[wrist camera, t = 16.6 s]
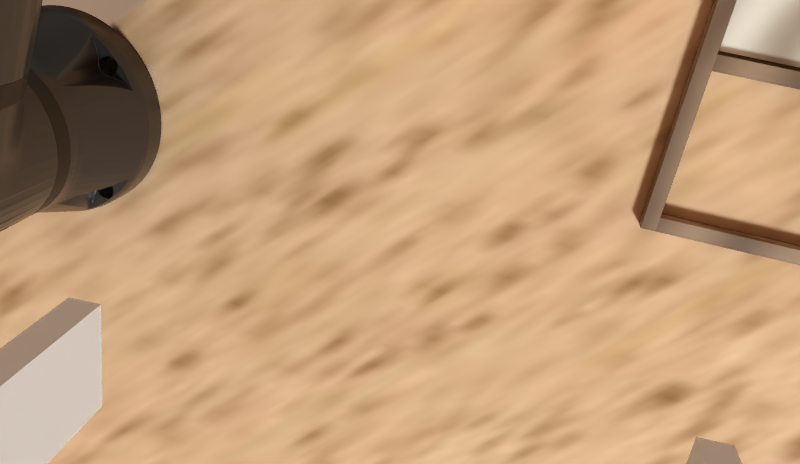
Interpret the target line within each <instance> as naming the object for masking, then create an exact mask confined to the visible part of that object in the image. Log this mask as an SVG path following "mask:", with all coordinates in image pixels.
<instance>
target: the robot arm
mask: <svg viewBox="0 0 800 464" xmlns="http://www.w3.org/2000/svg"><path fill="white" fill-rule="evenodd" d="M41 5H42V0H0V231H2V230H4V229H6V228H8V227H10V226H12V225H14V224H15V223H17V222H19V221H21V220H23V219H25V218H27V217H28V216H31V215H33V214H35V213H37V212H66V211H84V210H89V209H93V208H97V207H100V206H103V205H106V204H108V203H110V202H112V201H113V200H115V199H117V198H119V197H121V196H123V195H124V194H126V193H128V192H129V191H131V190H132V189H133V188H135V187H136V186H137V185H138V184H139V183H140V182H141V181H142V180H143V178H144V177H145V176H146V175H147V173H148V172H149V170H150V168H151V166H152V165H153V162H154V160H155V158H156V155H157V152H158V148H159V144H160V137H161V113H160V106H159V101H158V97H157V93H156V90H155V87H154V85H153V82H152V80H151V77H150V75H149V73H148V71H147V69H146V68H145V66H144V64H143V62H142V61H141V59H140V58H139V56H138V55H137V53H136V52H135V51H134V50H133V48H132V47H131V46H130V45H129V44H128V43H127V41H126V40H125V39H124V38H123V37H122V36H121V35H119V34H118V33H117V32H116V31H115V30H114V29H112V28H111V27H110V26H108V25H107V24H106V23H104V22H103V21H101V20H99V19H98V18H96V17H94V16H92V15H90V14H88V13H85V12H83V11H80V10H77V9H73V8H70V7H64V6H56V5H46V6H41ZM101 406H102V352H101V305H100V304H96V303H91V302H87V301H82V300H78V299H73V298H68V299H66V300H65V301H64V302H62V303H61V304H60V305H58V306H57V307H56V308H54V309H53V310H52V311H50V312H49V313H48V314H46V315H45V316H44V317H42V318H41V319H40V320H38V321H37V322H35V323H34V324H33V325H31V326H30V327H29V328H27V329H26V330H25V331H23V332H22V333H21V334H19V335H18V336H17V337H15V338H14V339H13V340H11V341H10V342H9V343H7V344H6V345H5V346H3V347H2V348H1V349H0V464H47V463H48V462H49V461H50V460H51V459H52V458H53V457H54V456H55V455H56V454H57V453H58V452H59V451H60V450H61V449H62V448H63V447H64V446H65V444H66V443H67V442H68V441H69V440H70V439H71V438H72V437H73V436H74V435H75V434H76V433H77V432H78V431H79V430H80V429H81V428H82V427H83V425H84V424H85V423H86V422H87V421H88V420H89V419H90V418H91V417H92V416H93V415H94V414H95V413H96V412H97V411H98V410H99V409H100V408H101ZM686 464H742V463H741V460H740V458H739V455H738V453H737V451H736V448H735V446H734V445H729V444H725V443H720V442H716V441H711V440H707V439H702V438H698V437H696V439H695V442H694V445H693V447H692V450H691V453H690V455H689V458H688V461H687V463H686Z"/></svg>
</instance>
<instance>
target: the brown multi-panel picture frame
mask: <svg viewBox="0 0 800 464" xmlns="http://www.w3.org/2000/svg"><path fill="white" fill-rule="evenodd" d="M718 51H722V52H727V53H732V54H737V55H742V56H747V57H751V58H756V59H761V60H766V61H771V62H775V63H780V64H785V65H790V66H795V67H799V68H800V0H714V3H713V6H712V9H711V11H710V14H709V17H708V20H707V23H706V26H705V29H704V32H703V35H702V38H701V41H700V44H699V47H698V50H697V53H696V56H695V59H694V62H693V65H692V68H691V70H690V73H689V76H688V79H687V82H686V85H685V88H684V91H683V94H682V97H681V100H680V103H679V106H678V109H677V112H676V115H675V118H674V121H673V124H672V127H671V130H670V132H669V135H668V138H667V141H666V144H665V147H664V150H663V153H662V156H661V159H660V162H659V165H658V168H657V171H656V174H655V177H654V180H653V183H652V186H651V189H650V191H649V194H648V197H647V200H646V203H645V206H644V209H643V212H642V215H641V218H640V221H639V224H640V227H641V228H644V229H648V230H652V231H657V232H661V233H665V234H669V235H674V236H678V237H682V238H686V239H690V240H695V241H699V242H703V243H707V244H712V245H716V246H720V247H724V248H729V249H733V250H737V251H741V252H746V253H750V254H754V255H758V256H763V257H767V258H771V259H775V260H780V261H784V262H788V263H792V264H797V265H800V246H797V245H793V244H789V243H785V242H780V241H776V240H772V239H767V238H763V237H759V236H755V235H750V234H746V233H742V232H737V231H733V230H729V229H725V228H720V227H716V226H712V225H707V224H703V223H699V222H694V221H690V220H686V219H682V218H677V217H673V216H669V215H664V214H662V211H663V208H664V205H665V202H666V200H667V197H668V194H669V191H670V188H671V185H672V182H673V180H674V177H675V174H676V171H677V168H678V165H679V162H680V160H681V157H682V154H683V151H684V148H685V145H686V142H687V140H688V137H689V134H690V131H691V128H692V125H693V122H694V120H695V117H696V114H697V111H698V108H699V105H700V102H701V100H702V97H703V94H704V91H705V88H706V85H707V83H708V80H709V77H710V74H711V71H715V72H720V73H724V74H729V75H734V76H739V77H743V78H748V79H753V80H758V81H762V82H767V83H772V84H777V85H781V86H786V87H791V88H796V89H800V71H799V70H794V69H789V68H784V67H780V66H775V65H770V64H765V63H760V62H756V61H751V60H746V59H741V58H736V57H732V56H727V55H722V54H718Z"/></svg>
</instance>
